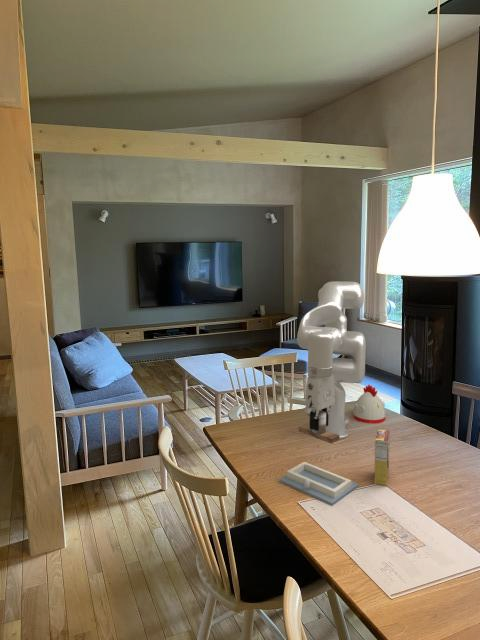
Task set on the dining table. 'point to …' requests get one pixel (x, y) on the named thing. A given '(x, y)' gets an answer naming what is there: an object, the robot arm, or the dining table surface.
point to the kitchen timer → (369, 407)
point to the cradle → (318, 483)
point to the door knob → (320, 430)
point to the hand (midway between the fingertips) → (319, 426)
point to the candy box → (381, 457)
